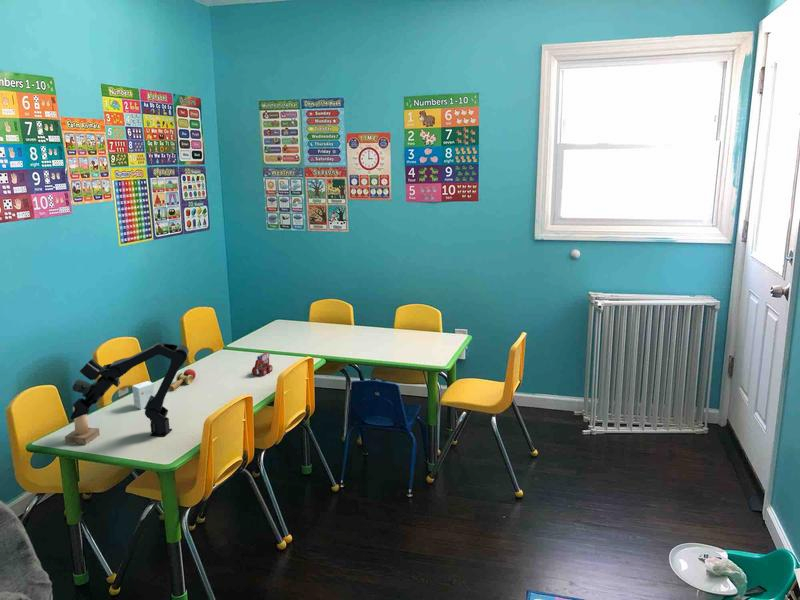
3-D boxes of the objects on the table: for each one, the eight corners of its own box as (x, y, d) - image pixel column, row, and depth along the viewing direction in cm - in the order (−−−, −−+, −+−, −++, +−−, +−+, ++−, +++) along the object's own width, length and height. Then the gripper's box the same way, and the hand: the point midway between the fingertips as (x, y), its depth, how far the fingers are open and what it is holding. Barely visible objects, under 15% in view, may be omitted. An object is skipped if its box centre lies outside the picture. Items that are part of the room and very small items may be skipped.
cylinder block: (90, 429, 261) (88, 404, 258) (85, 434, 256) (82, 408, 254) (78, 429, 260) (75, 404, 258) (73, 434, 256) (70, 409, 253)
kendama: (180, 394, 309) (201, 376, 325) (176, 382, 307) (197, 365, 323) (167, 395, 311) (188, 378, 328) (163, 384, 310) (184, 367, 326)
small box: (150, 401, 297) (148, 380, 294) (156, 404, 293) (154, 383, 291) (134, 407, 291) (131, 385, 288) (140, 410, 287) (138, 388, 285)
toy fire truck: (249, 376, 328) (248, 357, 326) (263, 368, 339) (262, 350, 337) (261, 378, 325) (259, 358, 323) (274, 370, 337) (273, 351, 334)
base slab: (99, 434, 262) (98, 428, 262) (86, 444, 254) (85, 437, 253) (79, 433, 264) (78, 427, 263) (65, 443, 255) (64, 436, 254)
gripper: (92, 366, 262) (68, 392, 263) (75, 382, 244) (49, 410, 245) (114, 383, 264) (90, 409, 266) (99, 400, 246) (73, 428, 248)
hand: (75, 413), depth 256 cm, fingers open, 9 cm apart
